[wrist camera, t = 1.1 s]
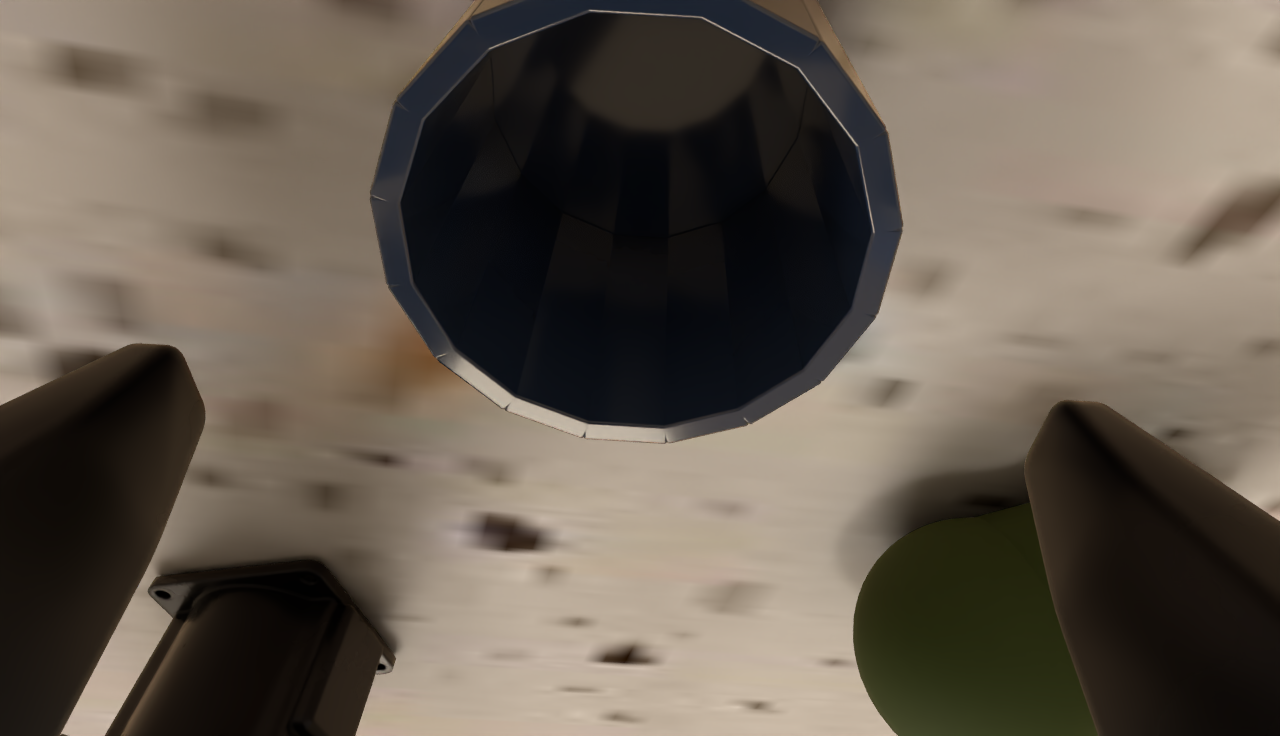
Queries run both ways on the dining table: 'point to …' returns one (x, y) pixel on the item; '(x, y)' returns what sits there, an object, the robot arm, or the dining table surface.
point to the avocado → (967, 634)
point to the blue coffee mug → (638, 210)
